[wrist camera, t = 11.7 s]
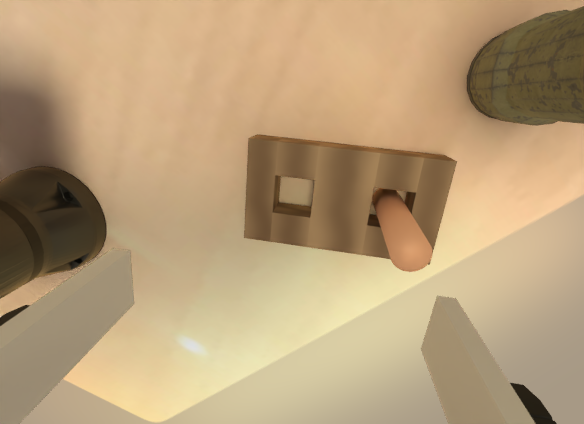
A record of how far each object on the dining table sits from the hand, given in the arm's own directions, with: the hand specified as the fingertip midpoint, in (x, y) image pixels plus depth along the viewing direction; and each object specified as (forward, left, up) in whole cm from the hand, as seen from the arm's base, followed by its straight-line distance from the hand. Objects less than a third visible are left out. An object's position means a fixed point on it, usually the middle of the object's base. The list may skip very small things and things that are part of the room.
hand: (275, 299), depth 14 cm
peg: (+9, -3, -27) cm, 29 cm away
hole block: (+3, -3, -27) cm, 28 cm away
